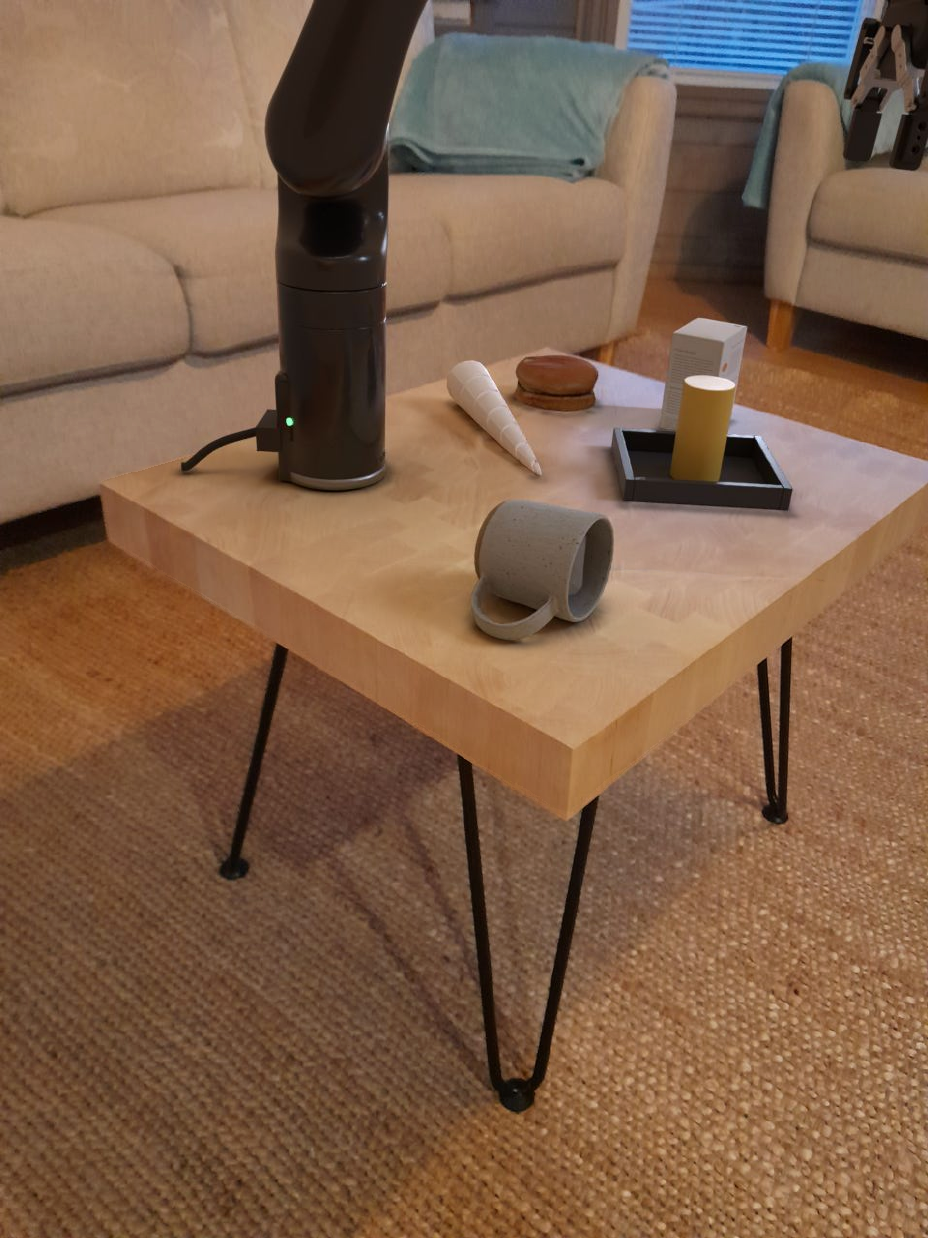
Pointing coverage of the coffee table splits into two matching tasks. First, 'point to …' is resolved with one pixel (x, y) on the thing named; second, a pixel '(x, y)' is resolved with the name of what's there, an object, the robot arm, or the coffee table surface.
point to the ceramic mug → (541, 563)
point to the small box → (700, 360)
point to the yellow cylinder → (702, 428)
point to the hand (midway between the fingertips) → (878, 164)
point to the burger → (556, 382)
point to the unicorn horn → (489, 409)
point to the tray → (741, 484)
